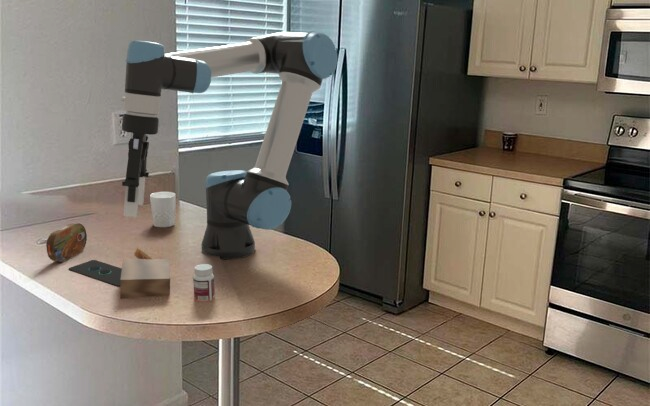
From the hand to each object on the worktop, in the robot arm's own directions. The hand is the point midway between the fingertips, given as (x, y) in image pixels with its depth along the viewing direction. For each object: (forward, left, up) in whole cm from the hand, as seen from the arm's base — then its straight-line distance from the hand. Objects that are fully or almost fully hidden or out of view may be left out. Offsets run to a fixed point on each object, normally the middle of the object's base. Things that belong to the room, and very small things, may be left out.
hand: (133, 210), depth 135 cm
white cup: (-11, -58, -22) cm, 63 cm away
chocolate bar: (-3, -27, -23) cm, 35 cm away
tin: (+17, -36, -22) cm, 45 cm away
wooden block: (-2, -6, -21) cm, 22 cm away
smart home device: (+7, -18, -23) cm, 30 cm away
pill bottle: (-14, +4, -22) cm, 27 cm away
